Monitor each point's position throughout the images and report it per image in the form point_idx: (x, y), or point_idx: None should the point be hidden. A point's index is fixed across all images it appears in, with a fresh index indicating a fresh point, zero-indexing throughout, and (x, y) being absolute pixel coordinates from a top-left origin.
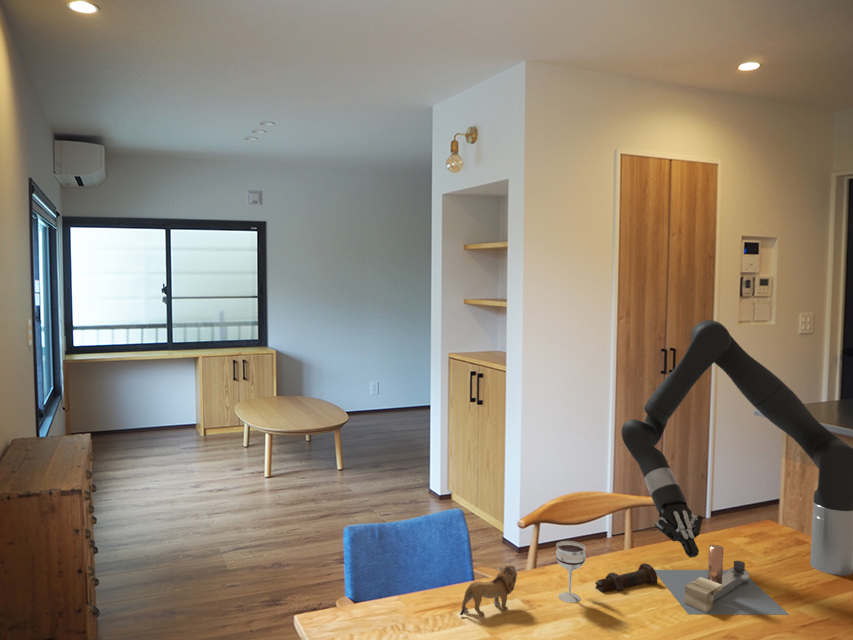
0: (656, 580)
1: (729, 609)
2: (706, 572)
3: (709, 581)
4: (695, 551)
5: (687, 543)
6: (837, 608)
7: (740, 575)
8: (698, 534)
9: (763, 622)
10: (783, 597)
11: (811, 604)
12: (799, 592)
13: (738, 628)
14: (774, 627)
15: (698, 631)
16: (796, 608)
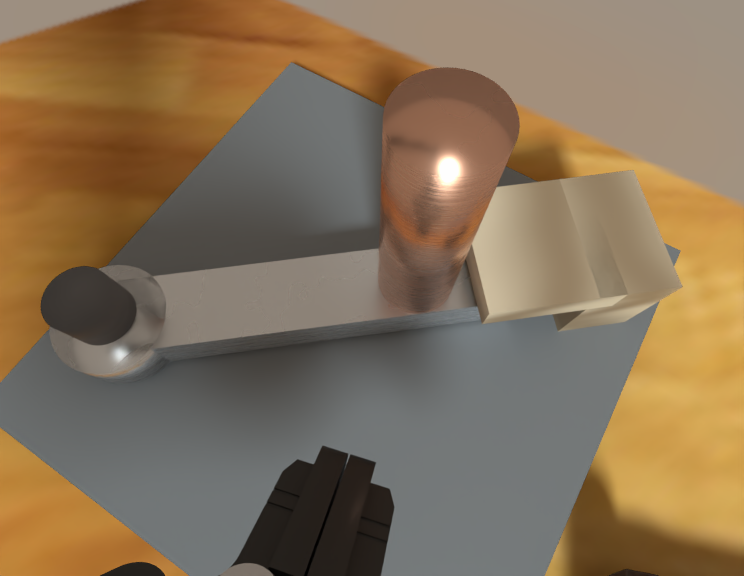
0: (631, 573)
1: None
2: (174, 507)
3: (492, 247)
4: (342, 463)
5: (349, 570)
6: (55, 44)
7: (162, 280)
8: (130, 570)
9: None
10: (113, 174)
11: (93, 96)
12: (7, 165)
13: (522, 131)
14: (394, 79)
15: (690, 188)
16: (176, 107)
